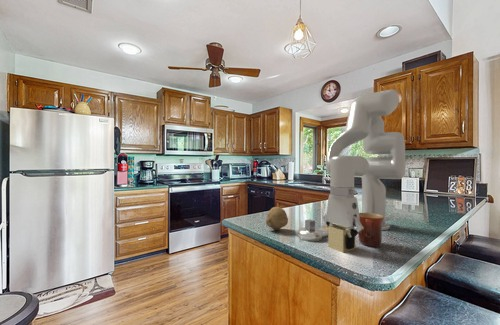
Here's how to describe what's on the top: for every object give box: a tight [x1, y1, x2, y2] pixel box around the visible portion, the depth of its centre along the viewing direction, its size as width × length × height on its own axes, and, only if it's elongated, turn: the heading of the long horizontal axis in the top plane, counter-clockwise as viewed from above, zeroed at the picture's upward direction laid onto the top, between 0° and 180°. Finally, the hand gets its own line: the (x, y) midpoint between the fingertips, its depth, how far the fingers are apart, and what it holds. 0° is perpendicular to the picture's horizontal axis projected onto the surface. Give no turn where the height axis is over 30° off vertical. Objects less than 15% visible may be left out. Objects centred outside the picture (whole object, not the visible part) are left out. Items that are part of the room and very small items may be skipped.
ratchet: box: [297, 218, 329, 242], centre depth 89 cm, size 22×9×6 cm, turn 118°
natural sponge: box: [265, 206, 289, 231], centre depth 94 cm, size 9×9×10 cm
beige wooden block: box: [327, 225, 356, 253], centre depth 75 cm, size 6×6×7 cm
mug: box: [357, 212, 384, 248], centre depth 78 cm, size 12×9×10 cm
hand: (341, 244), depth 75 cm, fingers closed on beige wooden block, 6 cm apart
